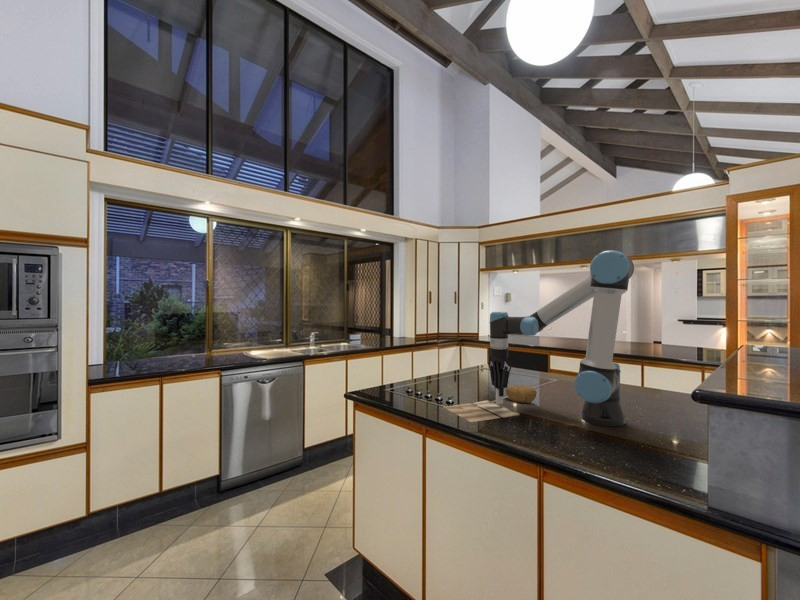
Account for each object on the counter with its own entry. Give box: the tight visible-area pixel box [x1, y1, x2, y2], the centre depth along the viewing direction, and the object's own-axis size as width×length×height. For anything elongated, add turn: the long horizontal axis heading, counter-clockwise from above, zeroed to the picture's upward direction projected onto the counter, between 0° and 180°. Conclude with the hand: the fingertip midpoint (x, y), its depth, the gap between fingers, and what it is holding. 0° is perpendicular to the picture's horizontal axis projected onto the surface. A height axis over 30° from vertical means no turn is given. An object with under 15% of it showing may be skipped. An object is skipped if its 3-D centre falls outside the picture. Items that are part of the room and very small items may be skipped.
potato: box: [504, 384, 537, 404], centre depth 169 cm, size 10×14×8 cm
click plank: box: [471, 399, 520, 418], centre depth 157 cm, size 22×8×1 cm, turn 22°
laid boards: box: [442, 403, 501, 423], centre depth 152 cm, size 22×14×1 cm, turn 22°
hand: (499, 403), depth 157 cm, fingers closed
